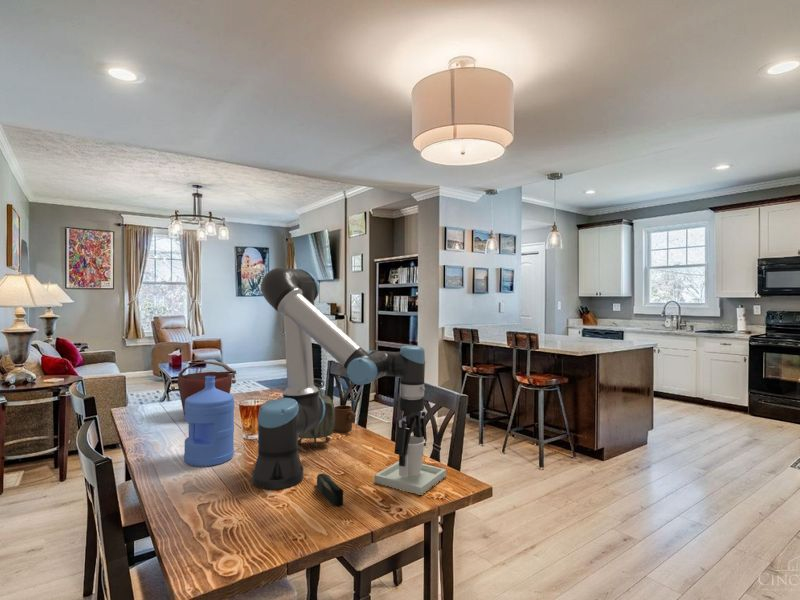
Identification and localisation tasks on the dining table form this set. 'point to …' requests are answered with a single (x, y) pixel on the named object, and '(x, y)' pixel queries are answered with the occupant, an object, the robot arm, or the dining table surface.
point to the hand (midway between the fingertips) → (410, 471)
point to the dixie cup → (415, 455)
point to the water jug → (209, 426)
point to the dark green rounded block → (329, 490)
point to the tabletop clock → (326, 424)
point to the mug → (343, 418)
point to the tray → (411, 478)
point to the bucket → (203, 381)
